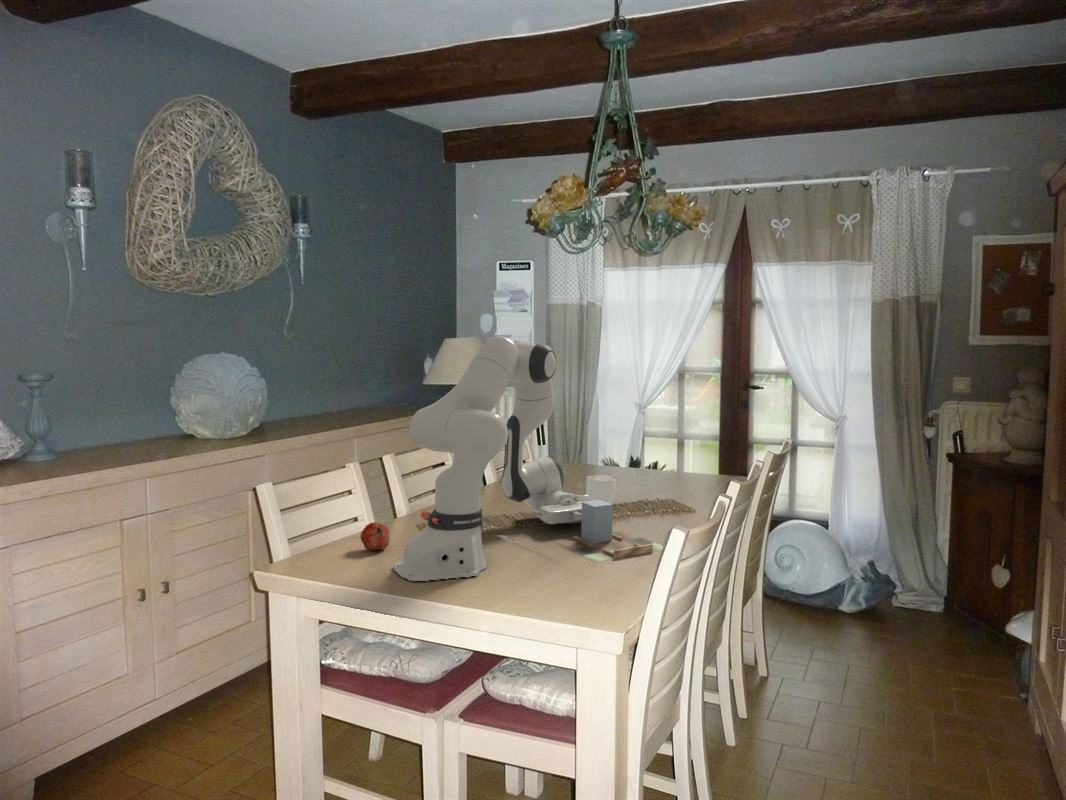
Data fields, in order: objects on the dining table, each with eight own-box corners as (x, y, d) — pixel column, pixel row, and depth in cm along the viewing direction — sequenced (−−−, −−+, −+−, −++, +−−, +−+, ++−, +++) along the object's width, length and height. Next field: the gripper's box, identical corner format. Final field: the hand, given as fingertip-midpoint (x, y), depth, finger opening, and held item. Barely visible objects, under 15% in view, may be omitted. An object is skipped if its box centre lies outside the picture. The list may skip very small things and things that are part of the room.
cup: (591, 520, 238) (592, 481, 237) (581, 513, 247) (582, 475, 246) (619, 518, 241) (620, 480, 239) (608, 511, 249) (609, 474, 248)
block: (593, 543, 210) (594, 506, 209) (581, 537, 215) (582, 502, 214) (611, 540, 213) (612, 504, 212) (599, 535, 218) (599, 499, 217)
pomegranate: (357, 557, 206) (363, 542, 198) (357, 531, 210) (363, 515, 202) (385, 557, 209) (392, 543, 201) (385, 531, 212) (392, 516, 205)
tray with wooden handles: (595, 566, 194) (595, 554, 194) (552, 545, 211) (552, 534, 211) (670, 552, 206) (670, 541, 206) (623, 533, 224) (624, 523, 223)
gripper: (531, 500, 223) (557, 511, 211) (590, 493, 233) (618, 503, 222) (531, 522, 224) (557, 534, 212) (590, 514, 234) (618, 525, 222)
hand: (589, 518), depth 217 cm, fingers closed
